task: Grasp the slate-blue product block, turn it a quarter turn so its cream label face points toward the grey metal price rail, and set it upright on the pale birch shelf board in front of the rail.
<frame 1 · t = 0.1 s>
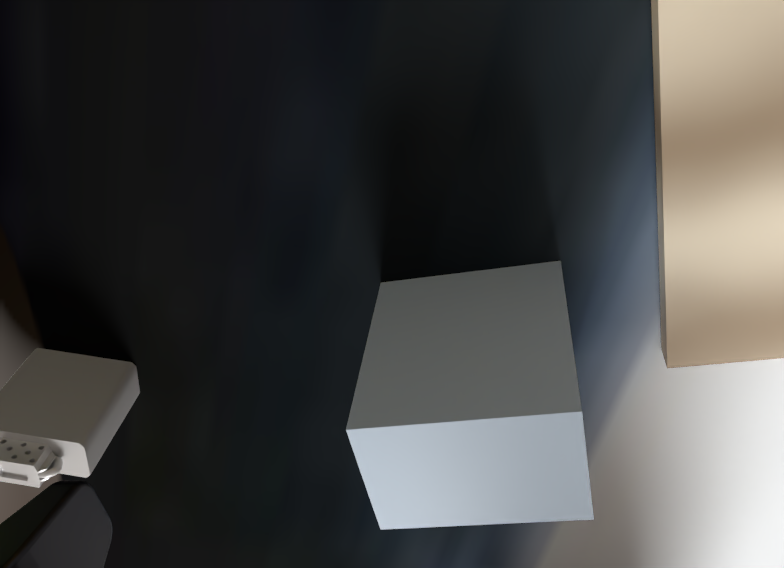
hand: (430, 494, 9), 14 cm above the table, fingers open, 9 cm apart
lighter: (53, 362, 29), on the table
product block: (477, 319, 25), on the table
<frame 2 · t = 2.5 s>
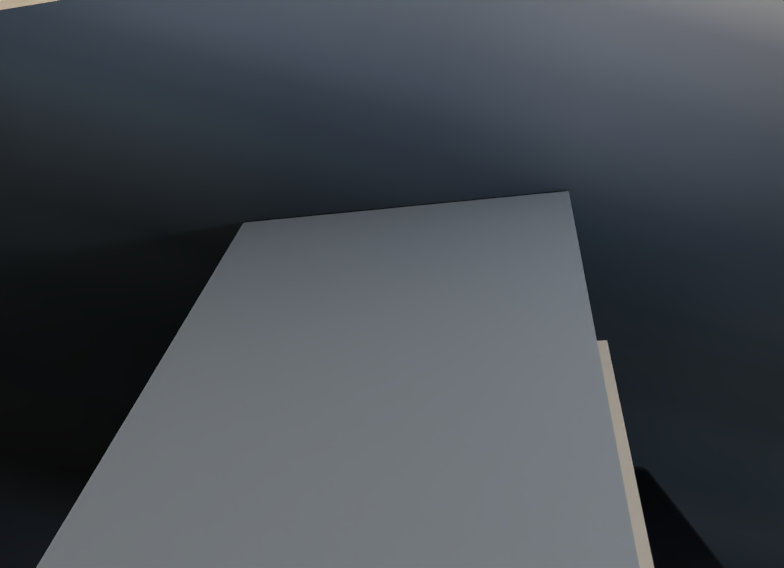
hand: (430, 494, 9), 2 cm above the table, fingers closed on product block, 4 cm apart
product block: (432, 394, 10), on the table, touching gripper
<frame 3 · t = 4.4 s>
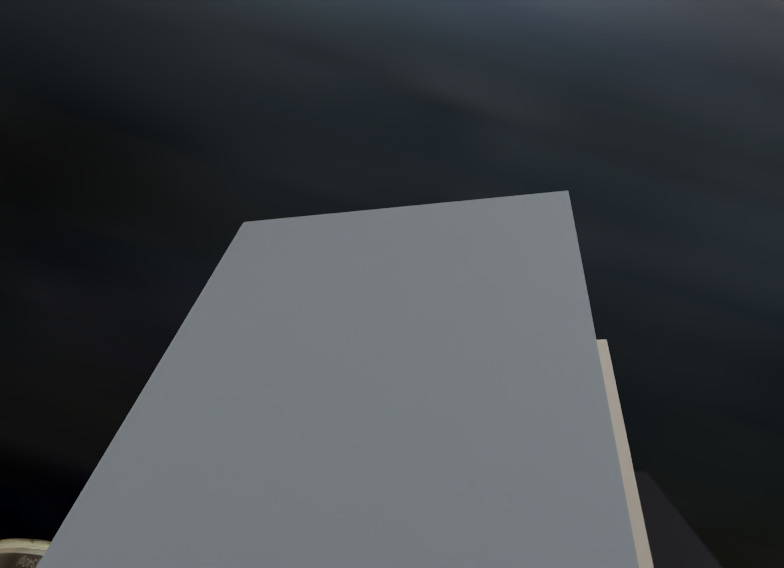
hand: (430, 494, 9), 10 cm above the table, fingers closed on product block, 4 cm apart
product block: (432, 393, 10), point 8 cm above the table, touching gripper
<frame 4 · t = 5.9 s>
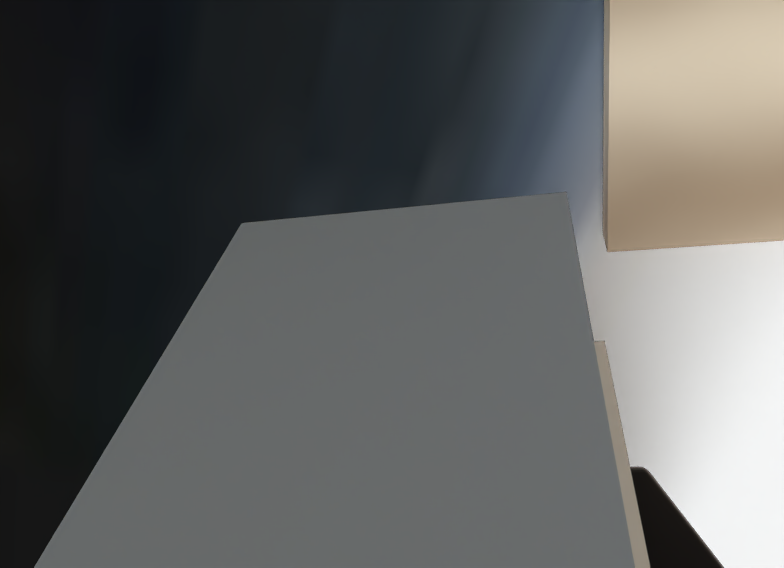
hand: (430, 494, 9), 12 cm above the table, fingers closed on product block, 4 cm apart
product block: (431, 394, 10), point 10 cm above the table, touching gripper
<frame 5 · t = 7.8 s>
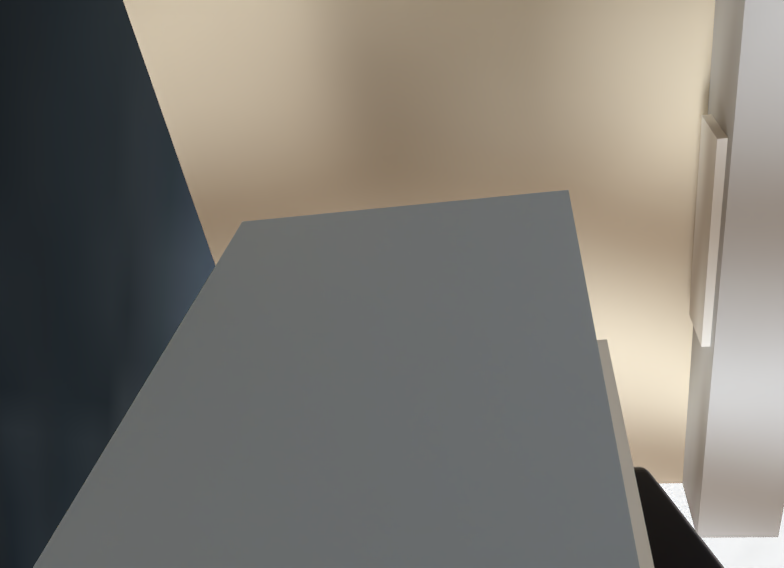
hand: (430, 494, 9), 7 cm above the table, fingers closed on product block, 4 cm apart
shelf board: (483, 209, 15), on the table
product block: (432, 393, 10), point 5 cm above the table, touching gripper
when the fingers open (4 cm above the table, at t = 9.3 s): product block drops 1 cm, resting on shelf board.
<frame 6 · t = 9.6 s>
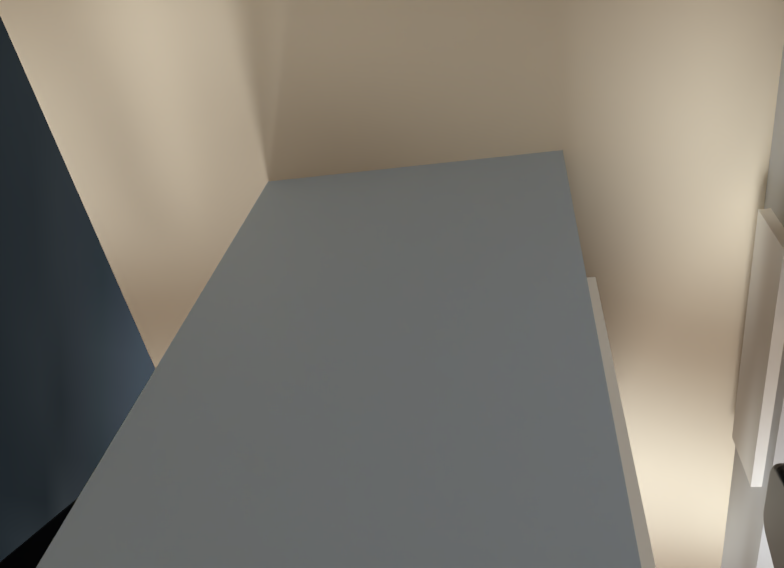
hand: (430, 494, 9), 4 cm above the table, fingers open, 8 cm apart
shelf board: (479, 302, 12), on the table
product block: (439, 343, 11), point 1 cm above the table, touching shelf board
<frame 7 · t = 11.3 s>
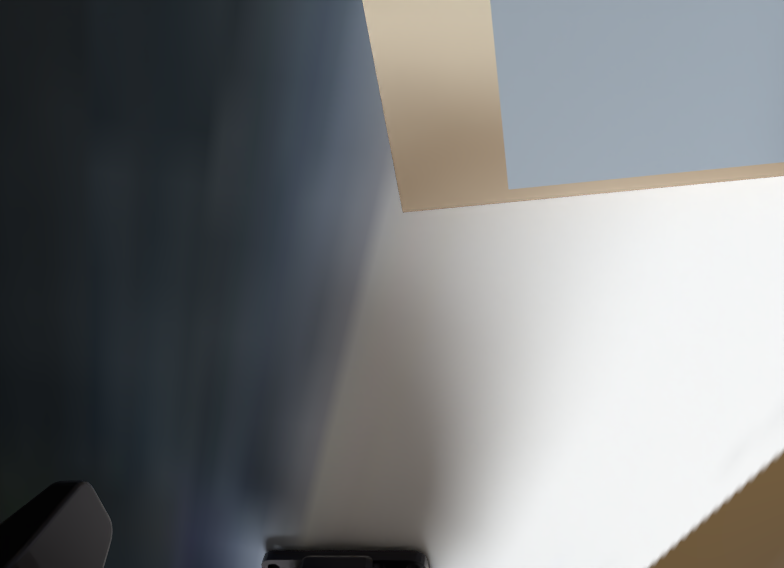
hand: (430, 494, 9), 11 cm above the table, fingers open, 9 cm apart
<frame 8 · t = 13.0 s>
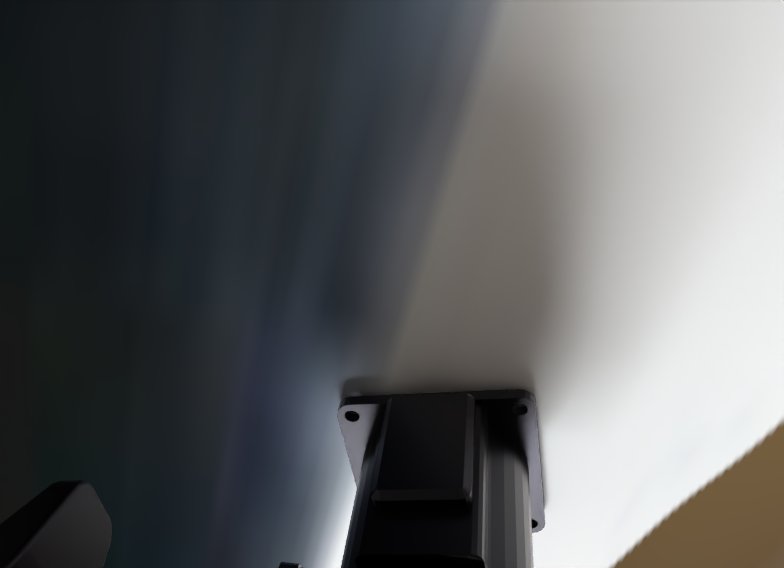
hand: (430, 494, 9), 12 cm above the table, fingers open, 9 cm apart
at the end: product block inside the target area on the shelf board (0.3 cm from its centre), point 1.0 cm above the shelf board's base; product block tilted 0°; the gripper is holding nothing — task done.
